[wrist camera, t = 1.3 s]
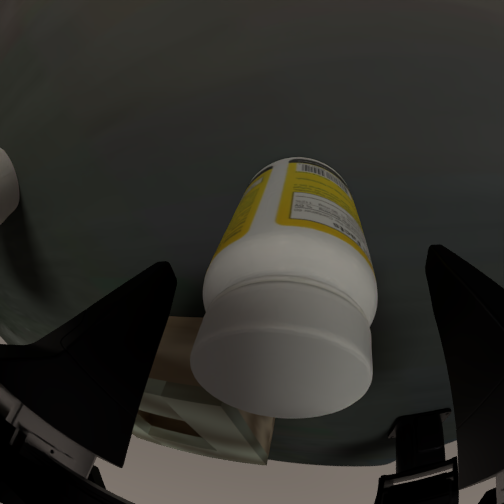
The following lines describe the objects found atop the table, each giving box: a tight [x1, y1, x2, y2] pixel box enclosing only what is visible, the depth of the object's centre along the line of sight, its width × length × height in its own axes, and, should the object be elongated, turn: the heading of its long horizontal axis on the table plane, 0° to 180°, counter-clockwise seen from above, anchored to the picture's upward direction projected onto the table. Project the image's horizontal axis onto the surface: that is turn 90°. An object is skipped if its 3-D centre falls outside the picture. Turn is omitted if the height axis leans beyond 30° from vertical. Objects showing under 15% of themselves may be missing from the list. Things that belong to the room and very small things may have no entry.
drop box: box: [132, 316, 275, 465], centre depth 20 cm, size 14×14×6 cm
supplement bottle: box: [190, 157, 378, 419], centre depth 9 cm, size 5×5×8 cm
